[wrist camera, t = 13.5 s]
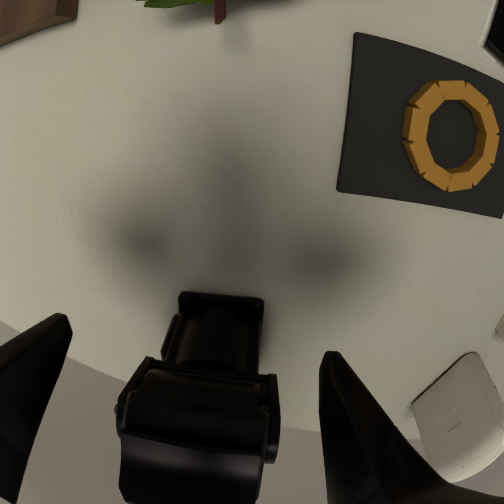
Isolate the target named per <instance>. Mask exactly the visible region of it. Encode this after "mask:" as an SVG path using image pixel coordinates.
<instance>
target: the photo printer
mask: <svg viewBox="0 0 504 504" xmlns="http://www.w3.org/2000/svg"><path fill="white" fill-rule="evenodd" d="M412 408H413V412H414V416H415V419H416V423H417V426H418V429H419V433H420V437H421V440H422V444H423V447H424V451H425V455H426V459H427V463H428V464H429V465H430V466H431V467H432V468H433V469H434V470H435V471H436V472H437V473H438V474H439V475H440V476H441V477H442V478H444V479H445V480H446V481H448V482H449V483H453V482H457V481H460V480H463V479H465V478H468V477H470V476H472V475H474V474H476V473H478V472H479V471H481V470H482V469H484V468H485V467H487V466H488V465H489V464H490V463H492V462H493V461H494V460H495V459H496V458H497V457H498V456H499V455H500V454H501V453H502V452H503V451H504V403H503V401H502V399H501V397H500V394H499V392H498V390H497V388H496V386H495V384H494V382H493V381H492V379H491V377H490V375H489V373H488V371H487V369H486V367H485V365H484V363H483V362H482V360H481V358H480V356H479V355H478V354H477V353H469V354H467V355H465V356H464V357H463V358H461V359H460V360H459V361H458V362H457V363H456V364H455V365H454V366H453V367H452V368H451V369H450V370H449V371H448V372H447V373H445V374H444V375H443V376H442V377H441V378H440V379H439V380H438V381H437V382H436V383H435V384H434V385H433V386H431V387H430V388H429V389H428V390H427V391H426V392H425V393H424V394H423V395H422V396H421V397H419V398H418V399H417V400H416V401H415V402H414V403H413V405H412Z"/></svg>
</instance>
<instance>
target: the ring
mask: <svg viewBox="0 0 504 504" xmlns="http://www.w3.org/2000/svg"><path fill="white" fill-rule="evenodd" d="M445 100H458V101H459V102H461V103H462V104H463V105H464V106H466V107H467V108H468V109H469V110H470V111H471V113H472V116H473V119H474V122H475V125H476V128H477V137H476V143H475V148H474V153H473V154H472V155H471V156H470V157H469V158H468V159H467V160H466V162H465V163H464V164H463V165H462V166H461V167H454V168H447V169H443V168H442V167H440V166H439V165H437V164H436V163H434V160H433V158H432V155H431V152H430V150H429V147H428V144H427V142H426V137H427V131H428V124H429V118H430V115H431V114H432V113H433V112H434V111H435V110H436V109H437V108H438V107H439V106H440V105H441V104H442V103H443V102H444V101H445ZM408 103H409V104H410V106H411V107H410V106H406V108H405V115H404V122H403V129H402V135H401V136H402V137H403V138H405V140H403V141H402V143H403V145H404V148H405V150H406V153H407V155H408V157H409V160H410V162H411V165H412V167H413V169H414V170H416V173H417V174H419V175H420V176H422V177H423V178H425V179H426V180H428V181H429V182H431V183H432V184H434V185H436V186H437V187H439V188H440V189H442V190H443V191H448V192H452V191H458V190H464V189H470V188H472V185H474V186H476V185H477V184H478V182H479V181H480V180H481V179H482V178H483V177H484V176H485V175H486V174H487V172H488V171H489V170H490V169H491V168H492V166H491V165H490V163H492V164H494V162H495V157H496V152H497V147H498V142H499V135H496V133H498V132H499V129H498V125H497V122H496V118H495V115H494V112H493V109H492V106H491V104H489V103H488V99H487V98H486V97H484V96H483V95H482V94H481V93H480V92H479V91H478V90H477V89H475V88H474V87H473V86H472V85H471V84H470V83H468V82H464V81H463V80H431V81H430V82H426V83H425V84H424V85H423V86H422V87H421V88H420V89H419V90H418V91H417V93H416V94H415V95H414V96H413V97H412V98H411V99H410V100H409V101H408Z"/></svg>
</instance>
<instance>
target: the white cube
mask: <svg viewBox="0 0 504 504" xmlns="http://www.w3.org/2000/svg"><path fill="white" fill-rule="evenodd" d="M496 330H497V331H498V333H499V335H500V336H501V338H502V339H503V341H504V316H503V317H502V319H501V321H500V322H499V324H498V325H497V327H496Z"/></svg>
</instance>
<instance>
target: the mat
mask: <svg viewBox="0 0 504 504" xmlns="http://www.w3.org/2000/svg"><path fill="white" fill-rule="evenodd" d="M431 80H463V81H464V82H468V83H470V84H471V85H472V86H473V87H474V88H475V89H477V90H478V91H479V92H480V93H481V94H482V95H483V96H484V97H486V98H487V99H488V103H489V104H491V106H492V109H493V112H494V115H495V118H496V122H497V125H498V129H499V132H498V133H496V135H499V142H498V147H497V152H496V157H495V162H494V164H492V163H490V165H491V166H492V168H491V169H490V170H489V171H488V172H487V174H486V175H485V176H484V177H483V178H482V179H481V180H480V181H479V182H478V184H477V185H476V186H474V185H472V188H470V189H464V190H458V191H452V192H448V191H443V190H442V189H440V188H439V187H437V186H436V185H434V184H432V183H431V182H429V181H428V180H426V179H425V178H423V177H422V176H420V175H419V174H417V173H416V170H414V169H413V167H412V165H411V162H410V160H409V157H408V155H407V153H406V150H405V148H404V145H403V143H402V141H403V140H405V138H403V137H402V136H401V135H402V129H403V122H404V115H405V108H406V106H410V104H409V103H408V101H409V100H410V99H411V98H412V97H413V96H414V95H415V94H416V93H417V91H418V90H419V89H420V88H421V87H422V86H423V85H424V84H425V83H426V82H430V81H431ZM410 107H411V106H410ZM476 137H477V128H476V125H475V122H474V119H473V116H472V113H471V111H470V110H469V109H468V108H467V107H466V106H464V105H463V104H462V103H461V102H459V101H458V100H445V101H444V102H443V103H442V104H441V105H440V106H439V107H438V108H437V109H436V110H435V111H434V112H433V113H432V114H431V115H430V118H429V124H428V131H427V137H426V142H427V144H428V147H429V150H430V152H431V155H432V158H433V160H434V163H436V164H437V165H439V166H440V167H442V168H443V169H447V168H454V167H461V166H462V165H463V164H464V163H465V162H466V160H467V159H468V158H469V157H470V156H471V155H472V154H473V153H474V148H475V143H476ZM336 189H337V191H338V192H342V193H350V194H358V195H366V196H373V197H380V198H387V199H394V200H401V201H407V202H414V203H420V204H426V205H432V206H438V207H443V208H449V209H454V210H460V211H465V212H470V213H475V214H480V215H485V216H490V217H494V218H499V219H502V216H503V213H504V83H502V82H500V81H498V80H496V79H494V78H492V77H490V76H488V75H486V74H484V73H481V72H479V71H477V70H475V69H472V68H470V67H468V66H465V65H463V64H461V63H458V62H456V61H453V60H451V59H448V58H445V57H443V56H440V55H437V54H434V53H432V52H429V51H426V50H423V49H420V48H416V47H413V46H410V45H407V44H403V43H400V42H396V41H393V40H389V39H385V38H381V37H377V36H373V35H369V34H365V33H360V32H356V33H354V40H353V54H352V66H351V78H350V88H349V98H348V107H347V115H346V124H345V132H344V140H343V147H342V154H341V161H340V168H339V175H338V181H337V188H336Z"/></svg>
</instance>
